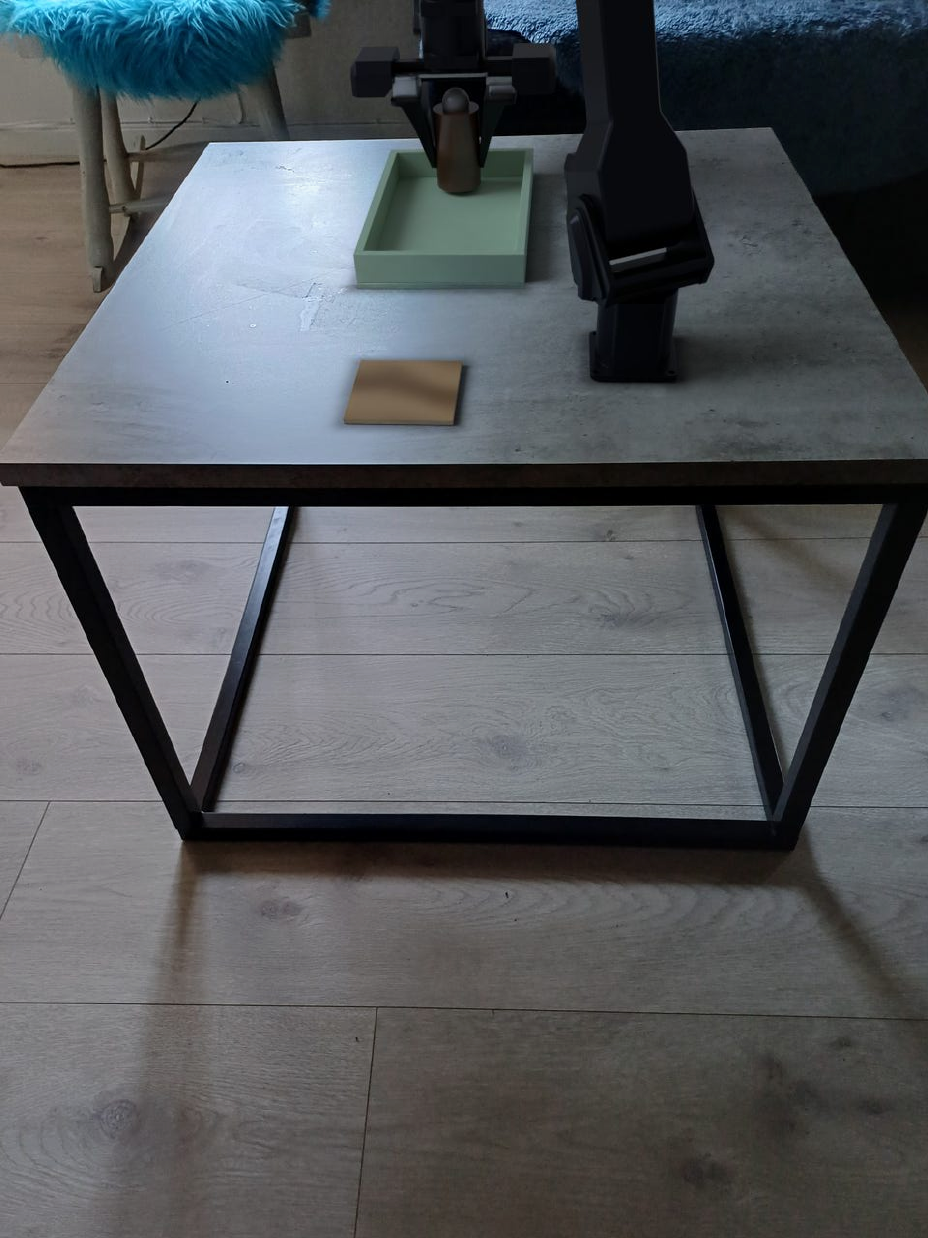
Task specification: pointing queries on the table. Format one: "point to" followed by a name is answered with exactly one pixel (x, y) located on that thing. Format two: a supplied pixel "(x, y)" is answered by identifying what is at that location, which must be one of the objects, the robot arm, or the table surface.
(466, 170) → the pepper mill
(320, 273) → the table surface
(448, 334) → the table surface
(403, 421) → the cork mat
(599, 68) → the robot arm
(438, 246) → the tray
